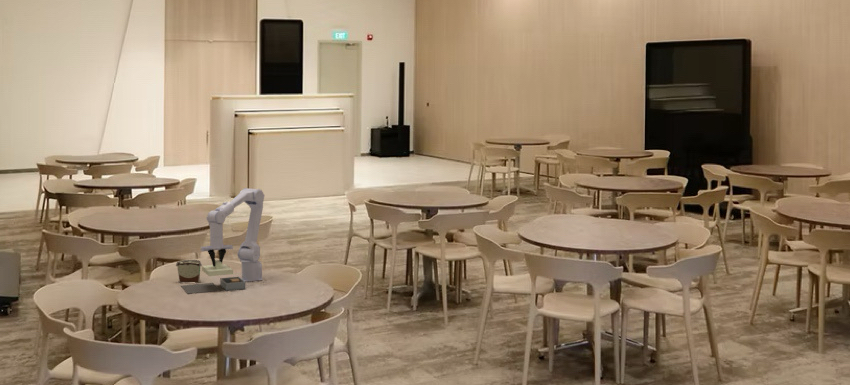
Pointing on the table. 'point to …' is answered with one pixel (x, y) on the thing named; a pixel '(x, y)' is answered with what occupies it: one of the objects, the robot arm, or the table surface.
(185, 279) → the food container
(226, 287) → the storage box
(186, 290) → the rubber mat
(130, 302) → the table surface
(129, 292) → the table surface
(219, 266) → the lid
